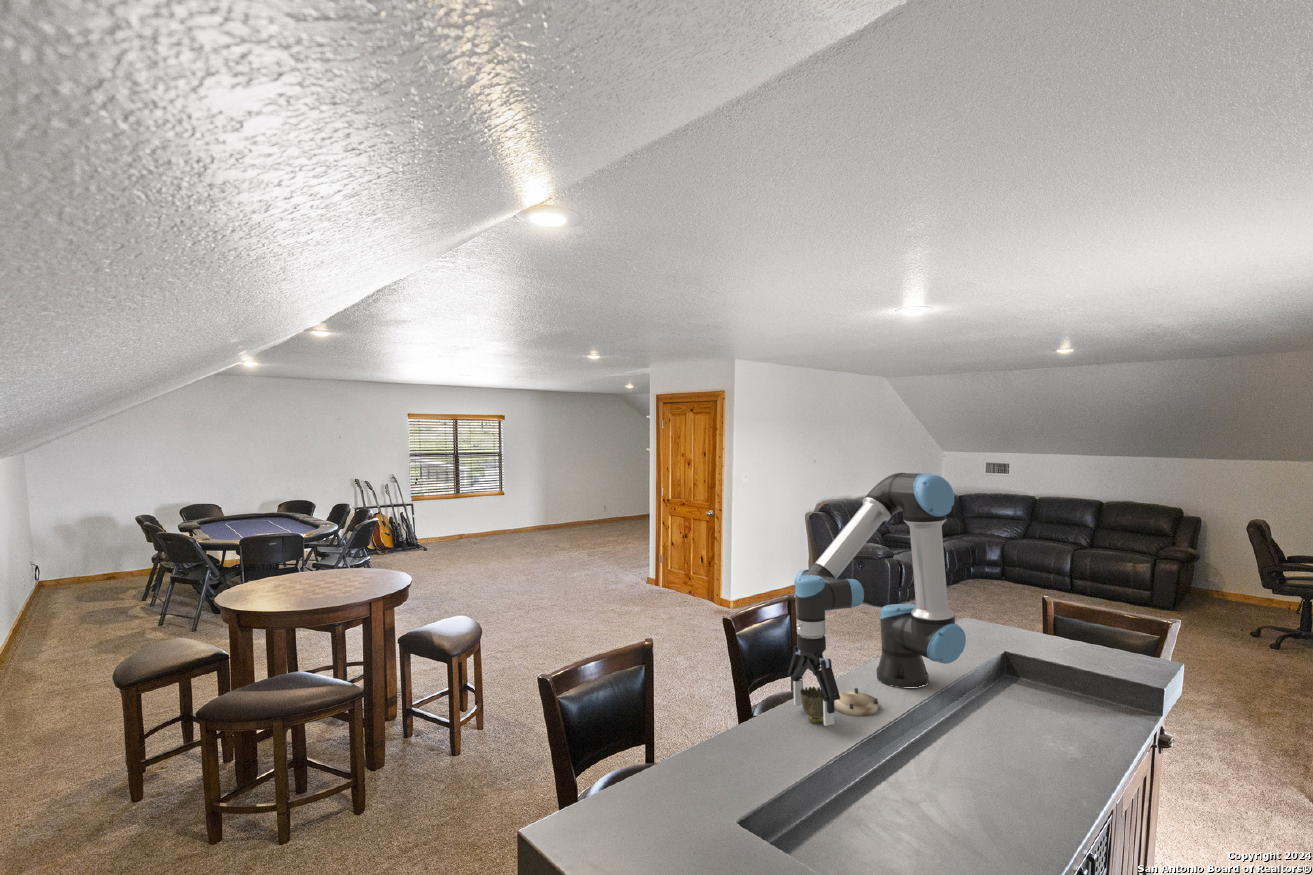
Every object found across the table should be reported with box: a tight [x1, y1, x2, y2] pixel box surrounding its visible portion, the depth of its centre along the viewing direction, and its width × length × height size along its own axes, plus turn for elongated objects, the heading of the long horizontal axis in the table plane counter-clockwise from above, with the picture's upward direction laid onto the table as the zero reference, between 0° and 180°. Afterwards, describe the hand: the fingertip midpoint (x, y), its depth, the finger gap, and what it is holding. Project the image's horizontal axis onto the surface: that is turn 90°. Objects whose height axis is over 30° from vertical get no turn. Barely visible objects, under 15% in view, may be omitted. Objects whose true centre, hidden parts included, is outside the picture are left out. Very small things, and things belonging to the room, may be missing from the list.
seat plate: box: [834, 687, 879, 717], centre depth 177 cm, size 13×13×3 cm
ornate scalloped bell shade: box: [800, 686, 825, 725], centre depth 168 cm, size 8×7×8 cm
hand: (813, 714), depth 168 cm, fingers open, 13 cm apart
